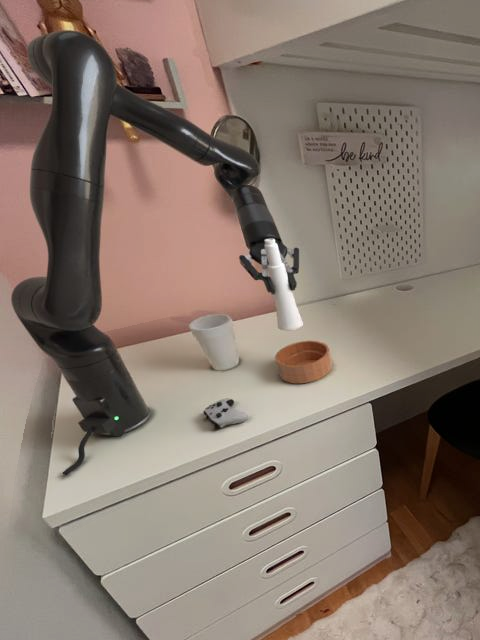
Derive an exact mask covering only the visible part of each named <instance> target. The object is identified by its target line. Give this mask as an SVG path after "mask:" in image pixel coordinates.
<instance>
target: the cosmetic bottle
mask: <svg viewBox="0 0 480 640" xmlns="http://www.w3.org/2000/svg"><path fill="white" fill-rule="evenodd" d="M264 241H265V243H266V244H265V245H264V246H265V250H266V254H267V258H268V262H269V265H268V276H269V277H270V279H271V281H272V284H273V286H274V289H275V294H272V295H273V300H274V306H275V313H276V317H277V318H276V320H277V321H276V322H277V329H279V330H280V331H284V332H285V331H286V332H289V331H295V330H298V329H300V328H302V327H303V325H304V321H303V320H302V317H301V314H300V312H299V309H298V306H297V303H296V300H295V296H294V293H293V291H292V290H291V286H290V283H289V279H288V275H287V272H286V269H285V265H284V264H283V263H282V261H281V257H280V253H279V249H278V245H277V243H275V239H265V240H264Z"/></svg>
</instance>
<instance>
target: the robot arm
mask: <svg viewBox="0 0 480 640" xmlns="http://www.w3.org/2000/svg"><path fill="white" fill-rule="evenodd" d="M107 51H108V50H106V48H104V46H103V45H102V44H101V43H99V42H98V41H97V40H96V39H95V38H93V37H92V36H90V35H88V34H87V33H84V32H81V31H77V30H71V29H70V30H69V29H64V30H63V29H62V30H55V31H52V32H49V33H44V34H41V35H39V36H36V37H34V38H32V40H31V41H30V42H29V43H28V45H27V47H26V55H27V60H28V63H29V65H30V67H31V68H32V70H33V72H35V74H36V75H37V76H38V77H39V79H41V81H43V82H44V83H45V84H46V85H47V86H49V87H50V88H51V89H52V90H51V91H52V93H51V98H52V99H51V108H50V113H49V116H48V118H47V120H46V123H45V126H44V128H43V130H42V132H41V134H40V136H39V138H38V141H37V143H36V145H35V148H34V152H33V155H32V159H31V164H30V178H29V199H30V204H31V208H32V211H33V213H34V216H35V218H36V221H37V223H38V225H39V228H40V230H41V233H42V235H43V238H44V241H45V244H46V248H47V268H46V276H33V277H29V278H26V279H24V280H22V281H20V282H19V283H18V284H17V285H16V286H15V287H14V288H13V289H12V292H11V296H10V301H11V306H12V309H13V311H14V313H15V315H16V317H17V319H18V320H19V321H20V323H21V324H22V325H23V327H24V329H25V330H26V331H27V333H28V334H29V335H30V337H31V338H32V340H33V341H34V343H35V344H36V345H37V347H38V348H39V349H40V350H41V351H42V352H43V353H45V355H47V356H48V357H49V358H51V360H52V361H53V362H54V364H55V366H56V367H57V368H58V370H59V372H60V373H61V375H62V376H63V377H64V379H65V381H66V382H67V384H68V386H69V387H70V389H71V390H72V392H73V394H74V395H75V396H74V397H73V398H72V402H73V404H74V405H75V406H76V409H77V410H78V412H79V413H80V414H81V416H82V417H83V418H82V419H81V420H80V421H78V422H77V424H78V425H79V427H80V428H81V430H82V432H84V433H85V434H84V436H83V437H82V439H81V441H80V443H79V445H78V448H77V449H78V458H77V460H76V461H75V462H74V463H73V464H72V465H70V466H69V467H67V468H66V469H65V470H64V471H62V475H64V476H68V475H69V474H70V473H71V472H73V471H75V470H76V469H77V468H78V467H79V466H81V464H82V463H83V461H84V459H85V457H86V452H85V448H86V444H87V442H88V440H89V439H90V438H91V436H92V435H93V434H94V435H97V436H98V435H100V436H110V437H111V436H112V437H122V436H123V435H125V434H127V433H129V432H131V431H133V430H135V429H137V428H139V427H141V426H143V425H144V424H145V423H146V422H147V421H148V420H149V419H150V418H151V415H152V412H151V410H150V408H149V407H148V405H147V403H146V401H145V399H144V398H143V396H142V394H141V393H140V390H139V389H138V386H137V384H136V383H135V381H134V379H133V377H132V375H131V374H130V371H129V370H128V367H127V366H126V364H125V362H124V360H123V358H122V357H121V354H120V352H119V350H118V349H117V347H116V345H115V342H114V341H113V339H112V338H111V337H110V336H109V335H108V334H106V333H104V332H103V331H102V330H101V329H99V328H97V327H96V326H95V325H94V324H95V323H96V322H97V321H98V319H99V317H100V316H101V312H102V308H103V307H102V306H103V295H102V281H101V280H102V279H101V265H100V256H101V255H100V254H101V240H102V239H101V238H102V219H103V211H104V200H105V199H104V198H105V187H106V185H105V181H106V180H105V177H106V164H107V163H106V161H107V143H108V142H107V141H108V130H109V129H108V128H109V123H110V117H111V116H112V117H113V118H115V119H118V120H120V121H122V122H124V123H126V124H128V125H130V126H132V127H134V128H135V129H137V130H139V131H141V132H143V133H144V134H147V135H148V136H150V137H152V138H154V139H156V140H157V141H159V142H161V143H163V144H164V145H167V146H168V147H170V148H171V149H173V150H175V151H176V152H178V153H180V154H181V155H183V156H185V157H186V158H187V159H190V160H191V161H193V162H194V163H197V164H198V165H201V166H203V167H209V166H212V165H214V168H213V174H214V178H215V180H216V181H217V183H218V184H219V185H220V187H221V188H222V189H223V190H224V191H225V193H226V194H227V196H228V197H229V198H230V200H231V202H232V204H233V206H234V210H235V211H236V214H237V217H238V222H239V226H240V228H241V229H240V230H241V231H242V234H243V235H244V239H245V241H246V243H247V246H248V248H249V251H248V254H245V255H243V254H241V255H240V254H239V256H238V259H239V263H240V266H242V268H244V270H245V271H246V272H247V273H248V274H249V276H251V278H252V279H253V280H254V281H262V282H263V283H264V286H265V289H266V292H268V293H269V294H270V293H271V295H273V294H275V289H274V286H273V284H272V281H271V279H270V276H269V271H268V265H269V262H268V258H267V254H266V250H265V246H264V245H265V244H266V243H265V241H264V240H265V239H275V243H277V245H278V249H279V253H280V257H281V261H282V263H283V264H284V265H285V269H286V272H287V275H288V279H289V283H290V286H291V290H292V292H294V291H296V288H297V287H298V286H297V285H298V282H297V280H296V277H295V274H299V272H300V271H299V269H300V249H299V248H298V247H294V248H288V247H287V246H286V245H285V244H284V242H283V239H282V238H281V235H280V233H279V230H278V227H277V225H276V222H275V219H274V216H273V215H272V213H271V212H270V209H269V207H268V205H267V202H266V199H265V197H264V194H263V193H262V191H261V190H260V189H259V188H258V187H257V186H254V185H251V184H249V183H251V182H253V180H255V179H256V178H258V177H259V175H260V173H261V166H260V164H259V162H258V160H257V159H256V157H255V156H254V155H253V154H251V153H250V152H249V151H247V150H246V149H244V148H242V147H240V146H238V145H235V144H233V143H230V142H228V141H225V140H222V139H220V138H217V137H214V136H212V135H210V134H209V133H208V132H206V131H205V130H204V129H202V128H201V127H199V126H197V125H196V124H195V123H193V122H191V121H190V120H188V119H187V118H186V117H184V116H182V115H180V114H178V113H175V112H173V111H172V110H170V109H167V108H166V107H163V106H161V105H159V104H157V103H154V102H152V101H151V100H149V99H146V98H144V97H142V96H140V95H138V94H136V93H134V92H132V91H131V90H129V89H128V88H126V87H125V86H122V85H121V84H120V83H118V76H117V69H116V67H115V63H114V62H113V59H112V57H111V56H110V54H109V52H107ZM287 255H288V256H289V257H290V258H291V259H292V262H293V264H292V267H291V266H290V265H289V263H288V261H287V259H286V258H287ZM252 260H253V261H254V262H256V263H257V264H259V265H261V272H259V271H258V270H257V269H256V267H255V266H253V263H252Z"/></svg>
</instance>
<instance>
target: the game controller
mask: <svg viewBox="0 0 480 640" xmlns="http://www.w3.org/2000/svg"><path fill="white" fill-rule="evenodd" d="M234 404H235V401H234V399H233V398H230V397H228V398H227V397H226V398H222V399H220V400H217V401H215V402H213V403H212V404H210V405H208V406H207V407H205V408H204V410H203V412H202V413H203V415H204V416H205V418H206V419H209V422H210V423H211V424H212V425H214V429H215V430H218V429H222V428H224V427H225V426H228V425H233V424H234V425H235V424H241V423H243V422H246V421H247V420H248V418H249V416H248V414H247V413H245V412H244V411H240V410H236V409H233V408H232V407H233V405H234Z"/></svg>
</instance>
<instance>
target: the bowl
mask: <svg viewBox="0 0 480 640" xmlns="http://www.w3.org/2000/svg"><path fill="white" fill-rule="evenodd" d="M274 359H275V363H276V366H277V369H278V373H279V378H280V379H282V380H283V381H284V382H287V383H291V384H307V383H311V382H314V381H318V380H320V379H323V378H324V377H325V376H326V375H328V374H329V373H330V372H331V371H332V368H333V361H332V357H331V351H330V348H329V346H328V345H327V344H326V343H324V342H321V341H317V340H303V341H297V342H294V343H291V344H288V345H285V346H284V347H282V348H280V349H279V350H278V351H277V352H276V354H275V357H274Z"/></svg>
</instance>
